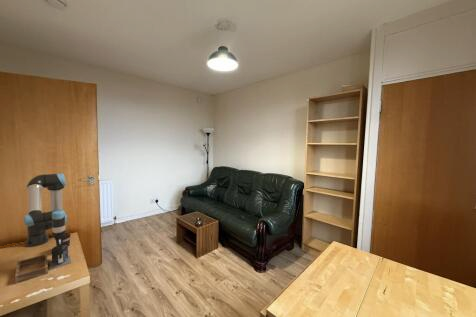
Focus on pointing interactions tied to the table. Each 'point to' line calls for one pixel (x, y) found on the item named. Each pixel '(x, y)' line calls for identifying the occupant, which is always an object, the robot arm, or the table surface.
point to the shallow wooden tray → (33, 273)
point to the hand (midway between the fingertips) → (60, 259)
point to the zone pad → (56, 264)
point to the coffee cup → (66, 240)
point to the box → (55, 252)
